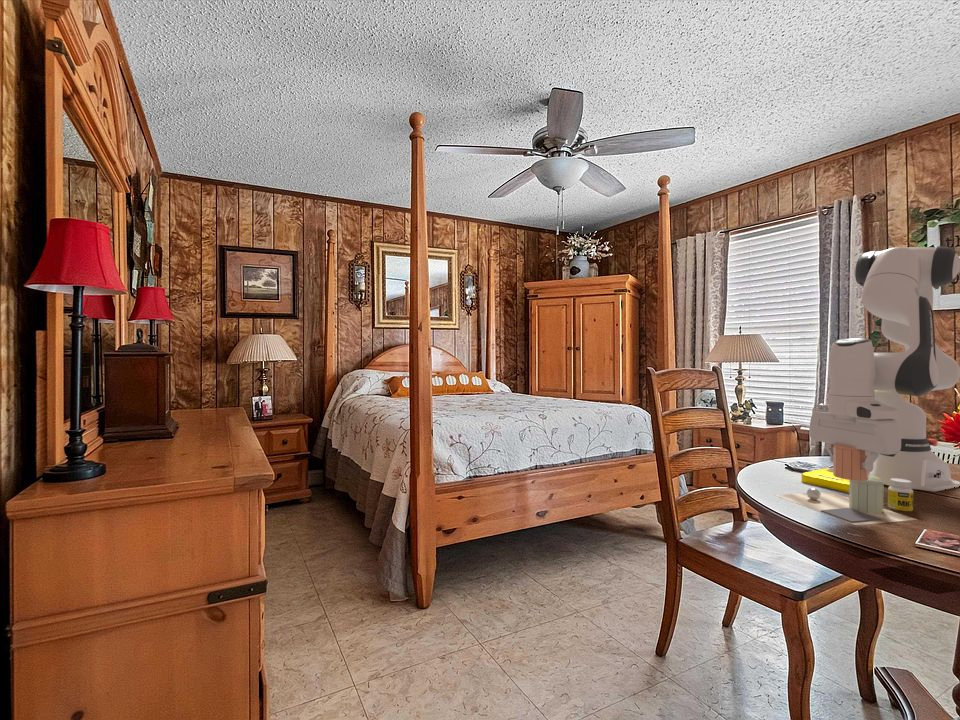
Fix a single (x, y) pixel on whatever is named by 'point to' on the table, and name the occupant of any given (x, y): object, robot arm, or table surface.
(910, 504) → the supplement bottle
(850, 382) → the robot arm
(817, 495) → the steel marble
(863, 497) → the sage cup
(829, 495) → the birch board
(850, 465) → the terracotta cup
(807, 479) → the element tile
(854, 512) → the charcoal mat
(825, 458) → the table surface
